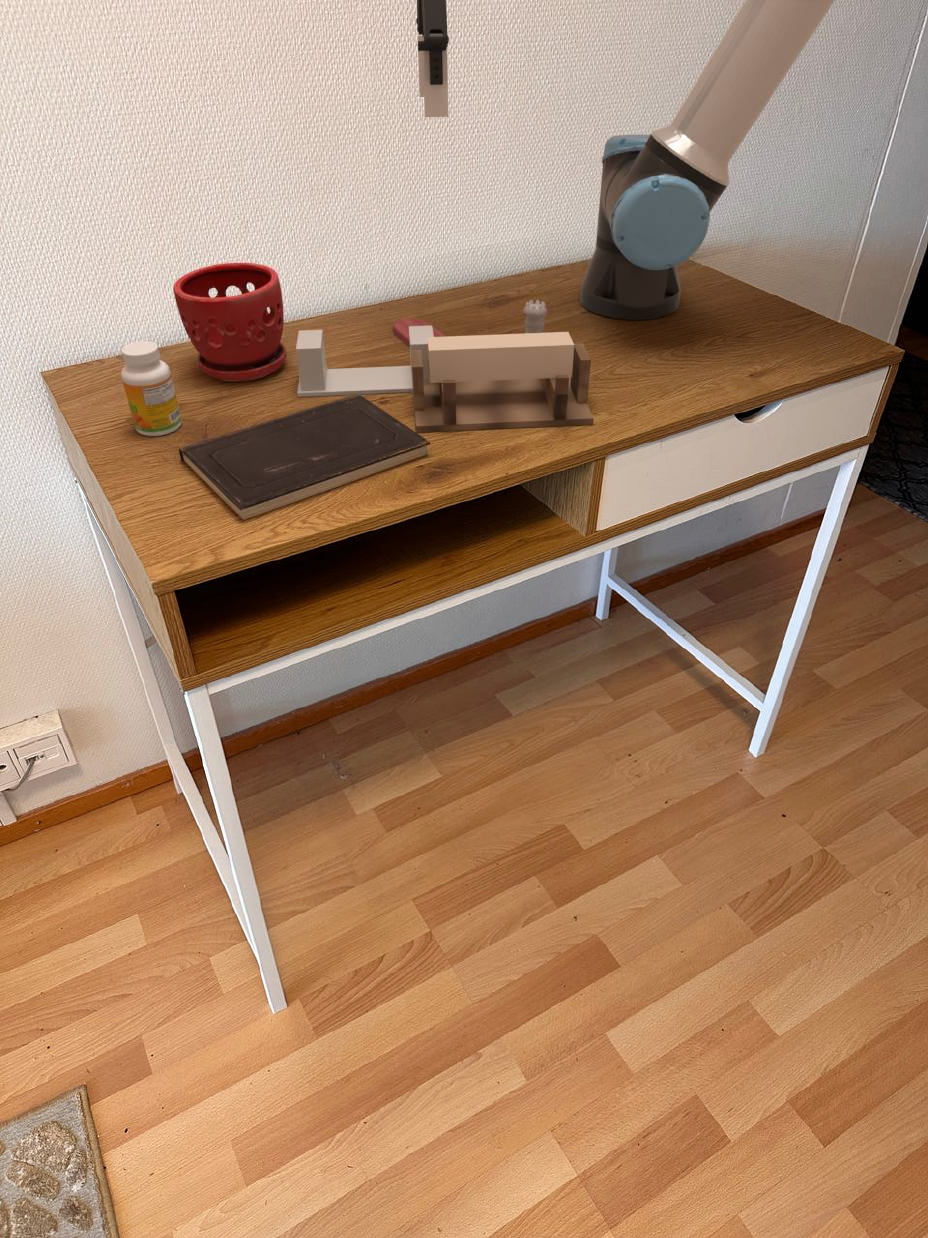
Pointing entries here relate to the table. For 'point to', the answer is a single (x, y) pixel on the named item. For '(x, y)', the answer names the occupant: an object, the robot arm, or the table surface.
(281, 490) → the hardcover book
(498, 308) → the table surface
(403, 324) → the popsicle
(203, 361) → the plant pot
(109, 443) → the table surface
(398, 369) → the stand
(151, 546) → the table surface
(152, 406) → the supplement bottle
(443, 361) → the beige rectangular bar
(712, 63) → the robot arm
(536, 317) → the rook chess piece
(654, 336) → the table surface
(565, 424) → the rack
